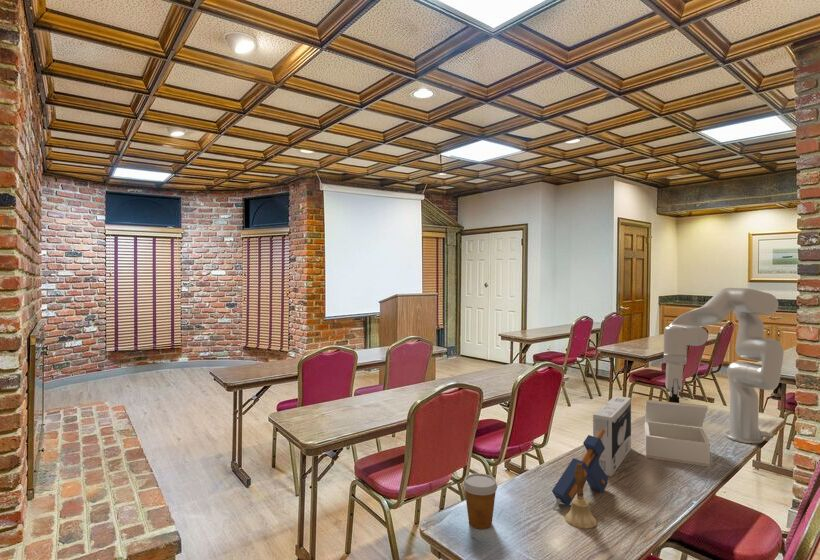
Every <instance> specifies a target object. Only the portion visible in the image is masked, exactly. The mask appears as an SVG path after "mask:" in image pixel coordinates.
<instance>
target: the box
mask: <svg viewBox="0 0 820 560" xmlns="http://www.w3.org/2000/svg"><path fill="white" fill-rule="evenodd" d="M644 446H645V447H644V448H645V456H646V458H648V459H649V458H650V459H654V460H661V461H666V462H667V461H669V462H675V463H682V464H689V465H693V466H703V467H708V468H709V467H711V443H710V442H709V440H708V437H707V435H706V433H705V431H704V428H703V427H694V426H686V425H677V424H669V423H660V422H652V421H644Z"/></svg>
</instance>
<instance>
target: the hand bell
mask: <svg viewBox="0 0 820 560" xmlns="http://www.w3.org/2000/svg"><path fill="white" fill-rule="evenodd" d="M575 480H576V483H577V493H576V497H574V498H573V500H572V502H571V507H570V510H569V511H568V512H567V513H566V514H565V516H564V519H565V521H566V523H568V525H570V526H572V527H574V528H579V529H592V528H594V527H597V525H598V523H597V519H596V518H595V517H594V515H593V513H592V512H591V507H590V502H589V501H588V500H587V499H586V498H585V497H584V487H583V484H584V480H585V474H584V470H583V467H582V464H581V463H577V466H576V469H575Z"/></svg>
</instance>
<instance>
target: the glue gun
mask: <svg viewBox="0 0 820 560" xmlns="http://www.w3.org/2000/svg"><path fill="white" fill-rule="evenodd" d="M604 433H605V430H604V429H601V431H600V432H599V434H598V435H597V437H594V436H593V435H592V434H591V435H590V434H588V435H587V437H586V438H585V439H584V441H583V442H582V444H583V446H584V447H585V449H586V452H585V454H584V455H583V457H582V459H581V460H580V459H577V458H575V457H572V459H571V460H570V462H569V464H568V465H567V467H566V469H565V470H564V471H563V473H562V474H561V476H560V477H559V479H558V481H557V482H556V484H555V485H554V487H553V489H552V490H551V492H552V494H553V496H554V497H555V499H556V501H555V503H554V505H553V508H552V510H555V509H556V508H557V506H559V504H561V503H562V504H564V505H565V506H567V507H570V505H571V504H572V500H573V499H574V498H576V496H577V483H576V480H575V469H576V466H577V463H581V464H582V467H583V470H584V474H585V480H584V484H583V488H584V487H585V485H586V483H587V484H588V486H589V488H590V489H593V490H595V491H597V492H599V493H603V492H604V491H605V489H606V488H607V486H608V481H609V476H608V475H606V474H605V473H604V471H603V470H602V468H601V467H600V465H599V458H600V456H601V454H602V452H603V451H604V449H605V447H604V445H603V443H602V441H601V438H602V436H603V435H604Z"/></svg>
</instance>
